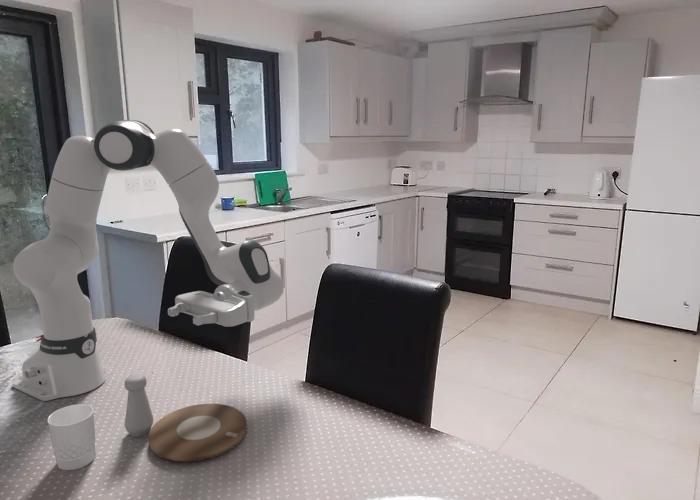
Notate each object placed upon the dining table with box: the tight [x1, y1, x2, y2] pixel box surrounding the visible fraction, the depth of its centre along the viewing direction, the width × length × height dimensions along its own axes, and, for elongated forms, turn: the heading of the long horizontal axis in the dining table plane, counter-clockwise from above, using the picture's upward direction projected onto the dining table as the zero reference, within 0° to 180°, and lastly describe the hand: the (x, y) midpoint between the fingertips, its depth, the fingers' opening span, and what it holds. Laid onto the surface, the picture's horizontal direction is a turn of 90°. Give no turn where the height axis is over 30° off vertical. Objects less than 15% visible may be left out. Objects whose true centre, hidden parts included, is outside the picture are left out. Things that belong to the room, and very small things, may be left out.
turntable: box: [148, 403, 248, 462], centre depth 108 cm, size 20×20×1 cm
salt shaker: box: [123, 373, 155, 438], centre depth 108 cm, size 6×6×13 cm
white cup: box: [46, 403, 97, 471], centre depth 99 cm, size 8×8×10 cm
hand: (181, 317), depth 114 cm, fingers open, 8 cm apart
